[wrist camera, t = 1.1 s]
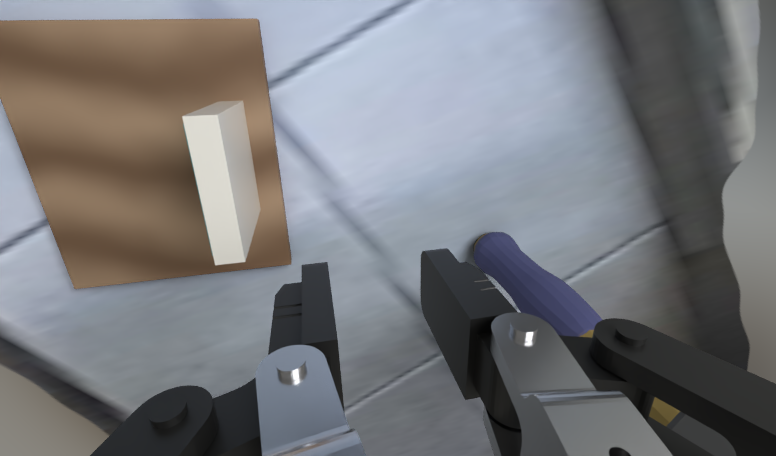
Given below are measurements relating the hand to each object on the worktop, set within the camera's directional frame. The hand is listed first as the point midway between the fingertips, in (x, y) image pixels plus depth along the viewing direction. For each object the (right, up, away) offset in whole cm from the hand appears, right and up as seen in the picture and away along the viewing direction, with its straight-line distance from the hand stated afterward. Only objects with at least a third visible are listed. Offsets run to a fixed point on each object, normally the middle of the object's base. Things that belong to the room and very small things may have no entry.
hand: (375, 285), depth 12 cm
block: (-10, +7, +17) cm, 21 cm away
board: (-16, +7, +17) cm, 24 cm away
